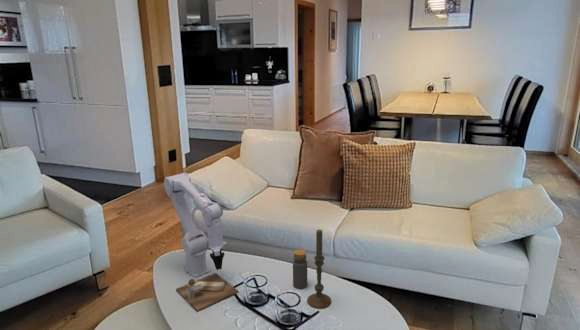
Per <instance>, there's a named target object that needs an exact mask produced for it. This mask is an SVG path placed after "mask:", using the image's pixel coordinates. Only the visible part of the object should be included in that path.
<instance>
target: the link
mask: <svg viewBox="0 0 580 330" xmlns="http://www.w3.org/2000/svg"><path fill="white" fill-rule="evenodd" d="M187 281H188V282H187V284H188V288H190V287H193V286H196V285H198V284H201V285H202V286H203V287H204V289H202V290H211V291H223V290H224V287H225V283H224V282H203V281H197V280H195V279H193V278H192V279H189V280H187Z"/></svg>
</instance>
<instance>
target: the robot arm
mask: <svg viewBox="0 0 580 330" xmlns="http://www.w3.org/2000/svg"><path fill="white" fill-rule="evenodd" d="M163 187H164V190H165V192H166V194H167V196H168V198H171V201H172V203H173V206H174V208H175V211H176V214H177V216H178V218H179V221H180V224H181V225H182V228H183V230H184V234H185V235H183V237H182V240H181V242H182V246H183V247H182V249H183V251H184V253H185V263H186V267H184V270H185V271H186V272H187V273H188V274H190V275H191V276H192V277H193V278H197V277H199V276H201V275H204V274H207V273H209V272H212V271H211V269H210V268H209V267H208V265H207V254H206V252H207V251H208V250H207V249H210V250H211V252H212V253H209V257H210V259H211V260H212V262H213V265H214V267H215V269H216V270H217V271H218V270H222V268H223V260H224V256H225V252H222V250H223V247H224V246H226V245H227V241H224V237H223V229H222V219H221V217H223V214H224V211H223V207H222V205H221V203H219V202H215V201H213V200H211V198H209V197H208V196H207V194H205V193H203V192H199V191H198V189H197V188H196V187H195V185H194V184H193V183H192V179H191V176H190V175H189V174H188V173H187V172H182V173H178V174H174V175H171V176H166V177H164V181H163ZM185 194H186V195H187V196H189V197H190V198H191V199H192V202H193V204H194V205H195V206H196V208H197V209H199V211H200V212H201V216H202V218H203V220H204V224H205V225H206V232H207V236H206V234H205V233H204V232H205V231H203V230H201V229H198V228H197V226H196V224H195V221H194V219H193V216H192V213H191V210H190V208H189V206H188V203H187V201H186V199H185Z"/></svg>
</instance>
